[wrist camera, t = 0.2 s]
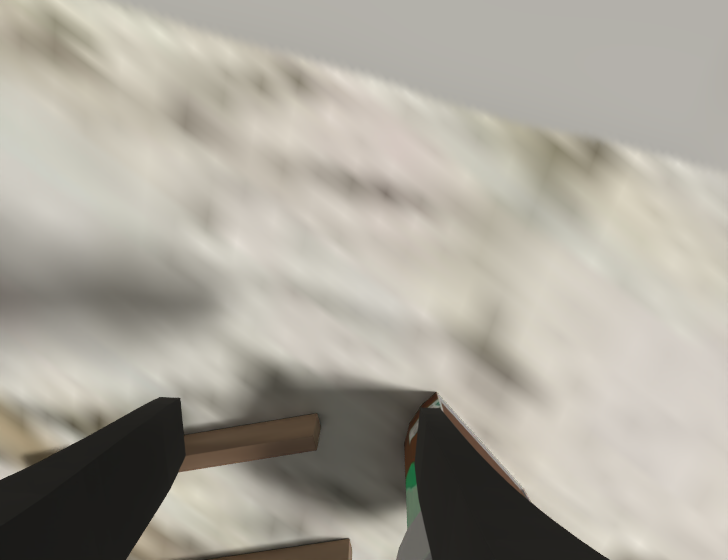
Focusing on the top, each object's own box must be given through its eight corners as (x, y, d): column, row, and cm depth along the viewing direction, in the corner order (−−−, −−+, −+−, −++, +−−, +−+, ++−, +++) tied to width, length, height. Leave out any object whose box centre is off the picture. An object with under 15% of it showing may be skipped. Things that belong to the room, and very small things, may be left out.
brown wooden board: (352, 549, 25) (351, 580, 23) (117, 584, 26) (97, 616, 24) (317, 413, 22) (313, 435, 20) (55, 456, 23) (26, 481, 21)
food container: (343, 432, 23) (327, 619, 13) (421, 374, 22) (467, 531, 12) (461, 548, 25) (521, 779, 15) (536, 502, 24) (652, 717, 14)
